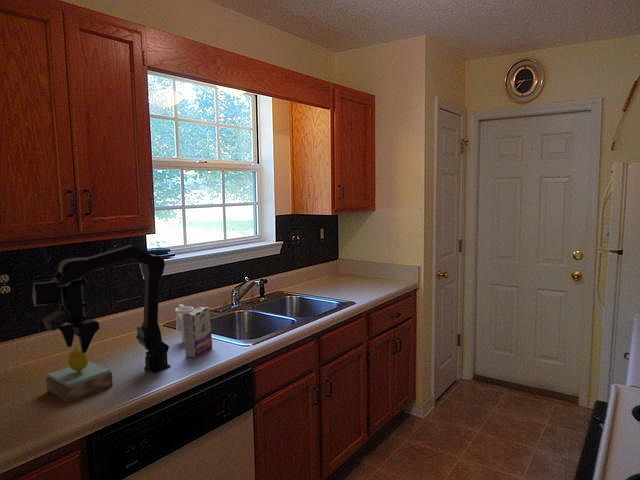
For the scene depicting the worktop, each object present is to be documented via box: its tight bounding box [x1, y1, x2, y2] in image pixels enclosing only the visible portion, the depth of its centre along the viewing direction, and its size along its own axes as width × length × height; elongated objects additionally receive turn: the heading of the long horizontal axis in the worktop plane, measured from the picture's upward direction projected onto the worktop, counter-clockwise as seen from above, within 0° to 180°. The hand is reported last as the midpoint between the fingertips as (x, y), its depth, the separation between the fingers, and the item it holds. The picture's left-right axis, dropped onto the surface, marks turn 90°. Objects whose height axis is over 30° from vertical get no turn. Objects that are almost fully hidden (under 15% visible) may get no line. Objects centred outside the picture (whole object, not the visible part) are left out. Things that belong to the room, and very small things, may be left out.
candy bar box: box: [183, 306, 213, 359], centre depth 177 cm, size 11×5×16 cm, turn 161°
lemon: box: [67, 346, 89, 372], centre depth 146 cm, size 6×6×8 cm
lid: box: [46, 360, 111, 388], centre depth 147 cm, size 13×13×1 cm
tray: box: [45, 371, 114, 404], centre depth 147 cm, size 14×13×4 cm
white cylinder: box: [175, 303, 195, 344], centre depth 189 cm, size 7×7×15 cm
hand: (76, 349), depth 146 cm, fingers open, 9 cm apart
